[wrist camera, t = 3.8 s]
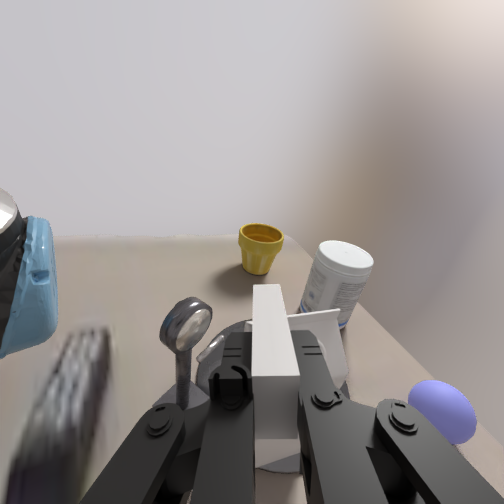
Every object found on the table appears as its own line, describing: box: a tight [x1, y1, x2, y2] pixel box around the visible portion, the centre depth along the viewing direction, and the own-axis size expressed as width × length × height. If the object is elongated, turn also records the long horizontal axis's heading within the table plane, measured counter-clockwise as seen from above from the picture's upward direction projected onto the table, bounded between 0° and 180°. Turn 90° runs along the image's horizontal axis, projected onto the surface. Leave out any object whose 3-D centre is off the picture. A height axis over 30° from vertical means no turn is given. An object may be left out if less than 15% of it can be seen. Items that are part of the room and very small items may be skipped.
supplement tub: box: [300, 241, 373, 330], centre depth 45 cm, size 10×10×15 cm
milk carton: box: [244, 309, 349, 468], centre depth 25 cm, size 7×7×19 cm
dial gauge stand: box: [152, 297, 224, 411], centre depth 26 cm, size 5×6×18 cm
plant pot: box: [238, 223, 284, 275], centre depth 57 cm, size 10×10×10 cm
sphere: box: [408, 380, 477, 445], centre depth 31 cm, size 7×7×7 cm
